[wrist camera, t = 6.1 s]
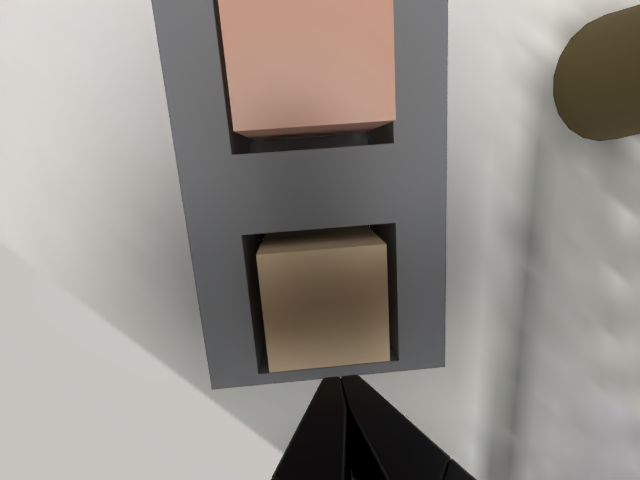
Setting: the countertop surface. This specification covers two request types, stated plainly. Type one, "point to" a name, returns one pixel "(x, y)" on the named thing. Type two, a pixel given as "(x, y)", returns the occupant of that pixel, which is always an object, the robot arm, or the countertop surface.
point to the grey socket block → (309, 193)
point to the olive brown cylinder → (602, 78)
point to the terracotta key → (309, 66)
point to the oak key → (324, 297)
